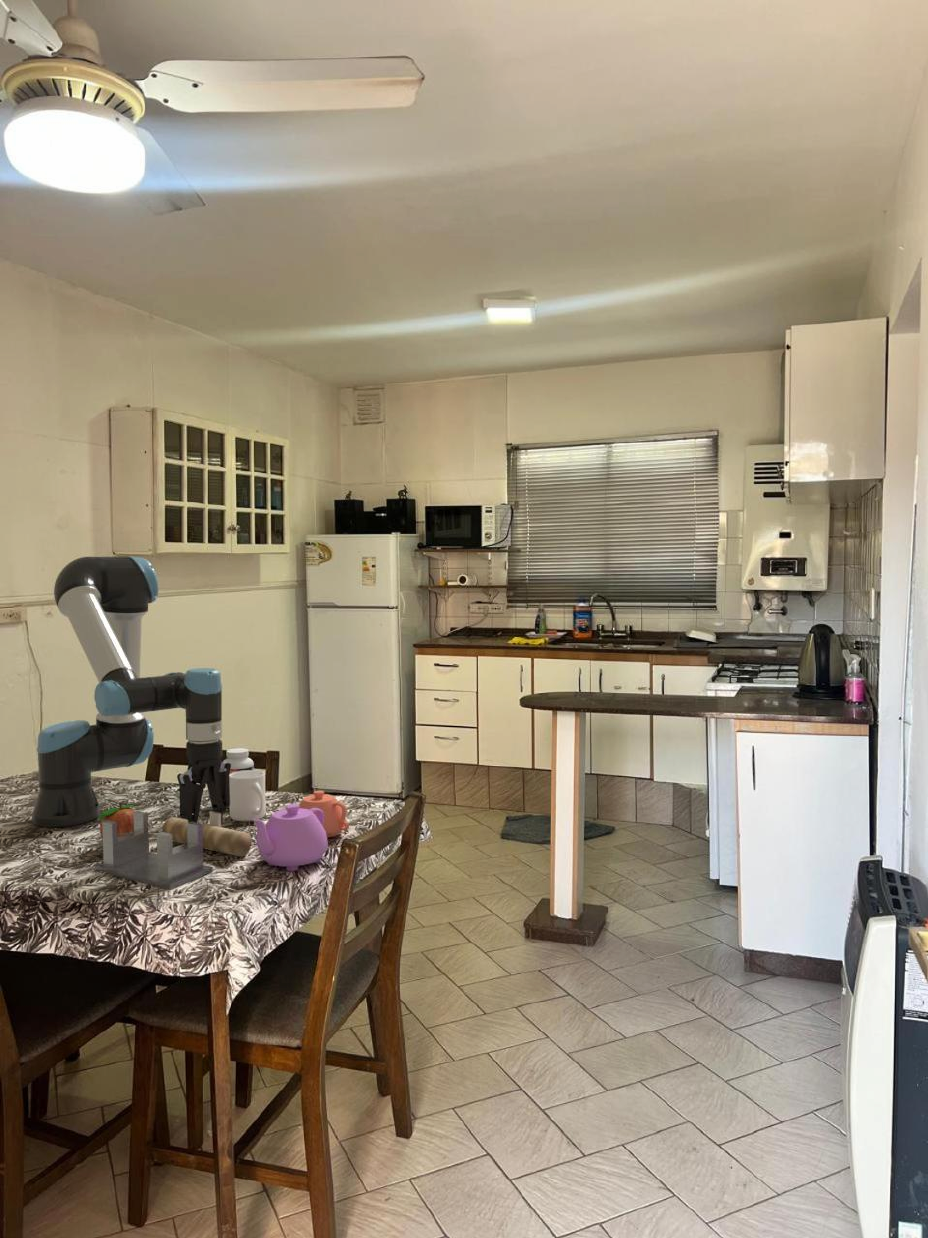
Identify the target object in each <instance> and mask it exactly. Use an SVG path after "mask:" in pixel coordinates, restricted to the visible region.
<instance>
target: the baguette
mask: <svg viewBox="0 0 928 1238" xmlns="http://www.w3.org/2000/svg"><path fill="white" fill-rule="evenodd" d="M187 823H188V820H186V819H182V818H180V817H174V816H172V817H169V818H167V819H166V820H165V821H164V823H163V825H162V828H161V832H164V833H169V834H172V842H176V843H180V844H185V843H188V839H187ZM202 835H203V849H207V850H211V851H215V852H218V853H222V854H226V855H227V854H228V855H230V856H231V855H232V856H236V857H240V858H242V857H245V856H246V855H247V854H248V853H249V852H250V850H251V848H252V843H253V841H252V836H251V834H249V833H248V832H244V831H239V830H237V829H235V830H234V829H232V828H231V829H230V828H225V827H222V826H221V827H217V826H212V825H210V824H207V823H203V822H202Z"/></svg>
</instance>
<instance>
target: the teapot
mask: <svg viewBox="0 0 928 1238" xmlns="http://www.w3.org/2000/svg"><path fill="white" fill-rule="evenodd" d="M315 812H317V813H318V818H317V817H316V815H315V814H314V813H315ZM251 820H252V821H251V822H253V823H254V824H255V826H256V839H255V840H256V841H255V842H256V847H257V849H258V850H257V851H258V854H259V855H260V856H261V858H263V860H264V861H266V862H267V865H268V866H279V867H286V871H288V872H296V871H298V870H299V866H304V865H308V864H317V863H319V862H320V859H321V858H322V856H323V855H324V854H325V853H326V851H327V850H328V847H329V844H328V838H327V837H326V836H327V833H326V831H325V830H324V828H323V823H324V813H323V811H322V810H320V809H318V808H311V809H310V810H308V809H302V808H299V804H296V803H290V804H287V805H285V809H279V810H277V811H275V812H274V813H272V814H271V816H270V817H269V818H268V820H267V822H266V823H265V822H264V821H263V820H262V819H258V820H257V819H251Z"/></svg>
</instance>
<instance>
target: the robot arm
mask: <svg viewBox="0 0 928 1238" xmlns="http://www.w3.org/2000/svg"><path fill="white" fill-rule="evenodd" d="M53 595H54V602H55V604H56V607H57V608H58V610H59V612H60V614H62V616H64V617H67V619H68V620H69V622H70V624H71V627H72V630H73V632H74V633H75V635H76V637H77V640H78V641H79V643H80V646H81V648H82V650H83V651H84V654H85V656H86V658H87V660H88V662H89V665H90V667H91V669H92V670H93V673H94V674H95V675H94V676H95V677H96V679H97V681H98V684H97V685H96V686H95V688H94V689H95V690H94V695H93V696H94V697H93V698H94V702H95V708H96V710H97V712H98V713H97V714H96V716H95V717H96V718H95V724H90V722H89V721H87V720H83V719H82V720H80V719H79V720H73V721H71V720H69V721H63V722H59V723H55V724H52V725H49V726H48V727H45V728H43V729H42V730H41V731H40V732H39V733H38V737H37V746H36V747H37V748H36V752H37V762H38V785H39V787H38V789H39V790H38V795H37V797H36V800H35V803H34V808H33V810H32V814H31V815H32V816H31V817H32V818H31V819H32V824H33V825H35V826H38V827H44V828H45V827H46V828H58V827H69V826H75V825H76V826H77V825H81V824H86V823H88V822H91V821H93V820H96V819H97V818H98V817H99V816H100V815H101V810H100V809H101V808H100V804H99V802H98V798H97V795H96V793H95V791H94V789H93V786H92V773H96V772H101V771H106V770H113V769H119V768H128V767H129V768H130V767H132V766H135V765H139V764H143V763H144V762H146V760H147V759H148V758H149V757H150V755H151V753H152V751H153V746H154V742H155V741H154V738H155V735H154V731H153V728H154V727H153V725H152V723H151V722H150V720H148V719H147V718H146V714H145V713H148V712H157V711H165V710H174V709H183V710H185V739H186V740H187V742H186V744H185V748H186V749H185V754H186V759H187V761H188V766H187V770H186V771H184V772H183V773H178V774H177V775H176V776H177V782H178V784H179V818H180V819H184V820H188V823H189V822H196V823H201V824H202V823H203V821H202V819H200V812H201V806H202V800H203V795H204V789H206V787H207V791H208V796H209V799H210V805H211V808H212V810H211V811H209V825H212V826H217V827H222V826H223V823H224V820H223V819H224V818H223V816H224V815H223V813H226V812H227V807H229V806H230V783H229V773H230V768H231V764H230V763H225V762H223V761H222V760H221V758H222V757H223V740H221V738H223V723H222V721H223V718H222V713H223V712H222V709H223V708H222V703H223V702H222V701H223V699H222V698H223V697H222V696H223V695H222V694H223V692H222V691H223V690H222V689H223V684H222V677H221V672H220V671H219V670H218V669H217V668H208V667H206V668H205V667H204V668H203V667H201V668H200V667H199V668H198V667H197V668H191V669H188V670H186V672H185V673H183V672H180V671H179V672H173V671H171V672H168V673H165V674H164V675H159V676H158V675H157V676H147V677H146V676H145V677H140V675H141V652H142V651H141V645H142V618H143V617H144V616H145V615H146V614H147V613H149V604H152V603H154V602H155V601H157V597H158V596H159V580H158V576H157V573H156V571H155V569H154V567H153V565H152V564H151V562H150V561H149V560H148V559H146V558H144V557H140V556H130V555H127V556H124V555H123V556H117V555H116V556H82V557H78V558H76V559H73V560H71V561H70V562H68V563H67V564H66V565H65V566H64V567H63V568H62V569H61V571H60V572H59V574H58V575H57V578H56V579H55V583H54V587H53Z"/></svg>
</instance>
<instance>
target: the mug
mask: <svg viewBox="0 0 928 1238" xmlns="http://www.w3.org/2000/svg"><path fill="white" fill-rule="evenodd" d="M229 783H230V808H229V817H230V819H232V820H233V821H235V822H253V821H252V820H251V819H257V820H262V818H264V817H265V816H266V809H267V808H266V773H265V772H264V771H262V770H255V769H254V770H245V771H238V772H234V773H231V774H230V775H229Z"/></svg>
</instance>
